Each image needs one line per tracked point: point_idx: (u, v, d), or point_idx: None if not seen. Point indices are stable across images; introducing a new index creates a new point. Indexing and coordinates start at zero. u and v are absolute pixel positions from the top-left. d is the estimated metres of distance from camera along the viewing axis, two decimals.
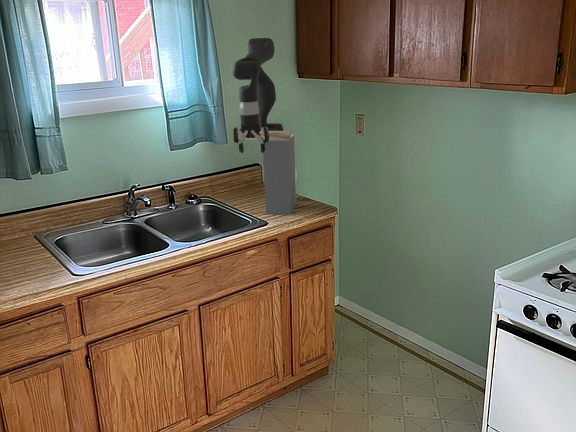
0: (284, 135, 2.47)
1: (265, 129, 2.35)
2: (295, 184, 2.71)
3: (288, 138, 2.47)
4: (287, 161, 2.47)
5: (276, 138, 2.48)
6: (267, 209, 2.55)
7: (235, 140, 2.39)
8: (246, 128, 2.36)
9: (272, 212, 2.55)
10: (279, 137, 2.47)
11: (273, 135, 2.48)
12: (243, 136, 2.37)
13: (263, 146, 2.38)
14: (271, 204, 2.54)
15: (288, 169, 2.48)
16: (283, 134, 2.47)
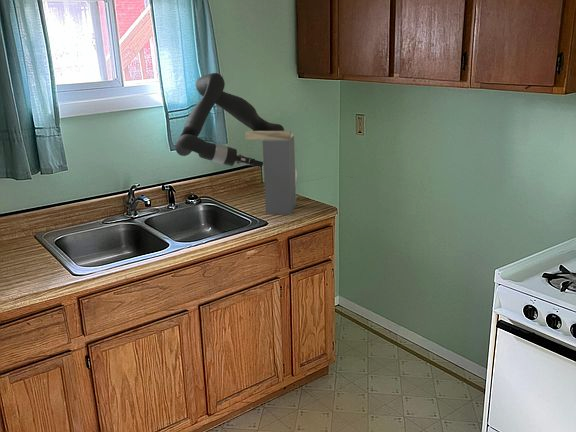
0: (284, 135, 2.47)
1: (242, 162, 2.43)
2: (295, 184, 2.71)
3: (288, 138, 2.47)
4: (287, 161, 2.47)
5: (276, 138, 2.48)
6: (267, 209, 2.55)
7: None
8: None
9: (272, 212, 2.55)
10: (279, 137, 2.47)
11: (273, 135, 2.48)
12: None
13: (256, 164, 2.47)
14: (271, 204, 2.54)
15: (288, 169, 2.48)
16: (283, 134, 2.47)
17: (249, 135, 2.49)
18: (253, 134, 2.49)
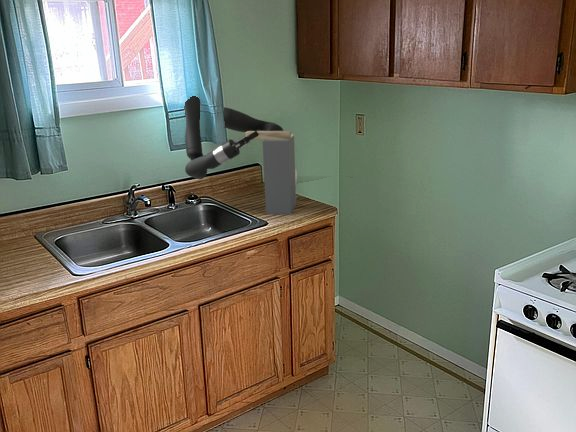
0: (284, 135, 2.47)
1: None
2: (295, 184, 2.71)
3: (288, 138, 2.47)
4: (287, 161, 2.47)
5: (276, 138, 2.48)
6: (267, 209, 2.55)
7: None
8: None
9: (272, 212, 2.55)
10: (279, 137, 2.47)
11: (273, 135, 2.48)
12: None
13: (253, 137, 2.48)
14: (271, 204, 2.54)
15: (288, 169, 2.48)
16: (283, 134, 2.47)
17: None
18: None
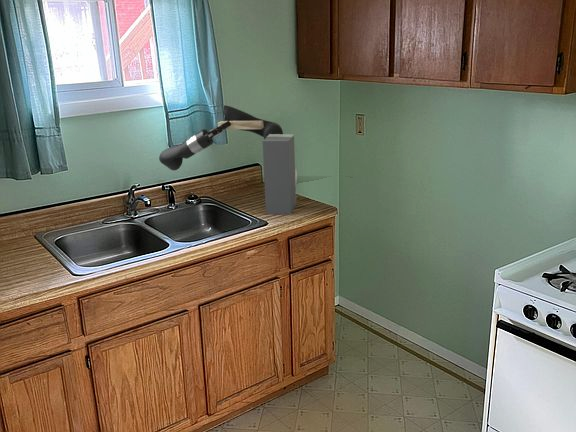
0: (256, 125, 2.51)
1: (211, 137, 2.52)
2: (295, 184, 2.71)
3: (260, 128, 2.51)
4: (287, 161, 2.47)
5: (248, 128, 2.52)
6: (267, 209, 2.55)
7: None
8: None
9: (272, 212, 2.55)
10: (251, 126, 2.51)
11: (245, 124, 2.52)
12: None
13: (225, 127, 2.52)
14: (271, 204, 2.54)
15: (288, 169, 2.48)
16: (255, 124, 2.51)
17: None
18: None
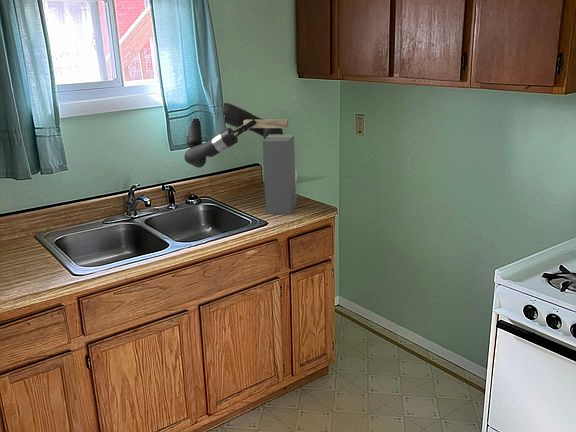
0: (281, 123, 2.52)
1: None
2: (295, 184, 2.71)
3: (285, 126, 2.52)
4: (287, 161, 2.47)
5: (273, 126, 2.53)
6: (267, 209, 2.55)
7: None
8: None
9: (272, 212, 2.55)
10: (277, 125, 2.52)
11: (270, 123, 2.52)
12: None
13: (251, 126, 2.53)
14: (271, 204, 2.54)
15: (288, 169, 2.48)
16: (280, 122, 2.52)
17: None
18: None
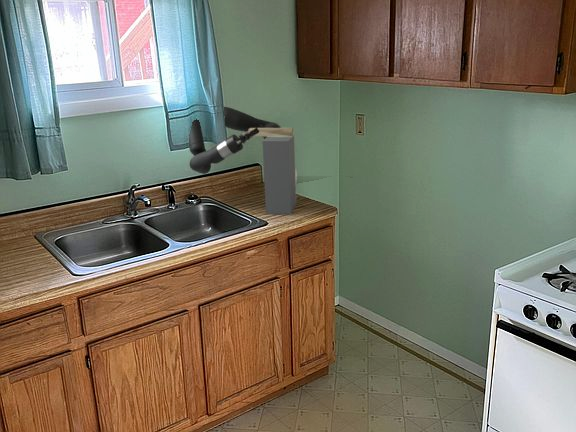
0: (286, 132, 2.52)
1: (240, 144, 2.53)
2: (295, 184, 2.71)
3: (290, 135, 2.52)
4: (287, 161, 2.47)
5: (279, 135, 2.53)
6: (267, 209, 2.55)
7: None
8: None
9: (272, 212, 2.55)
10: (282, 134, 2.53)
11: (275, 131, 2.53)
12: (250, 138, 2.61)
13: (253, 134, 2.52)
14: (271, 204, 2.54)
15: (288, 169, 2.48)
16: (285, 131, 2.52)
17: None
18: None
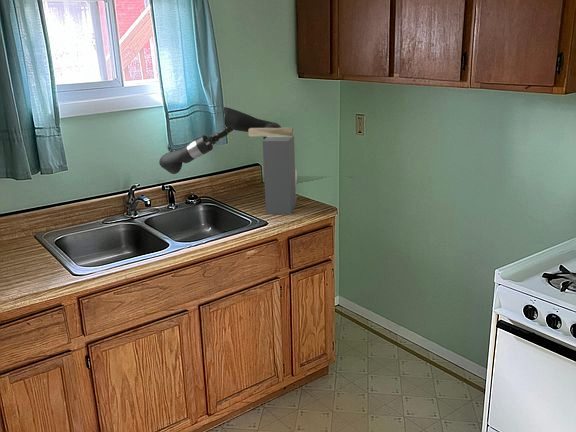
0: (286, 132, 2.52)
1: (209, 145, 2.55)
2: (295, 184, 2.71)
3: (290, 135, 2.52)
4: (287, 161, 2.47)
5: (279, 135, 2.53)
6: (267, 209, 2.55)
7: None
8: None
9: (272, 212, 2.55)
10: (282, 134, 2.53)
11: (275, 131, 2.53)
12: (220, 139, 2.63)
13: (222, 136, 2.55)
14: (271, 204, 2.54)
15: (288, 169, 2.48)
16: (285, 131, 2.52)
17: (252, 132, 2.55)
18: (256, 131, 2.55)
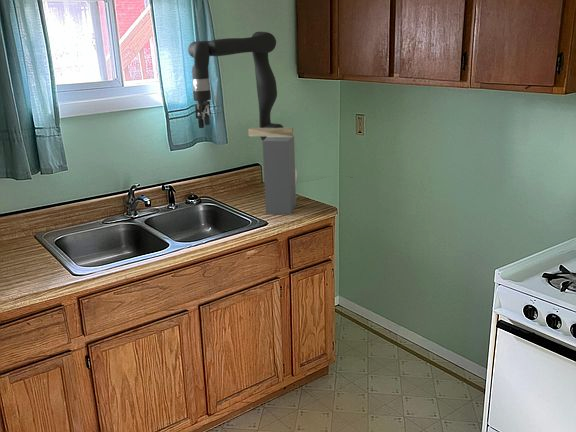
0: (286, 132, 2.52)
1: None
2: (295, 184, 2.71)
3: (290, 135, 2.52)
4: (287, 161, 2.47)
5: (279, 135, 2.53)
6: (267, 209, 2.55)
7: None
8: None
9: (272, 212, 2.55)
10: (282, 134, 2.53)
11: (275, 131, 2.53)
12: None
13: (199, 122, 2.57)
14: (271, 204, 2.54)
15: (288, 169, 2.48)
16: (285, 131, 2.52)
17: (252, 132, 2.55)
18: (256, 131, 2.55)
